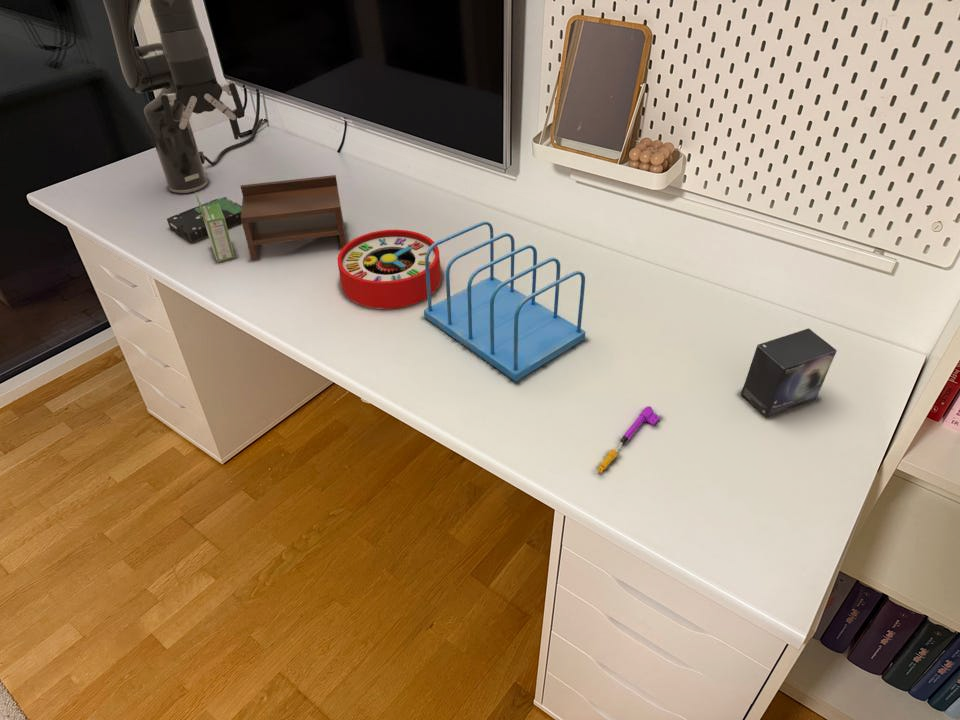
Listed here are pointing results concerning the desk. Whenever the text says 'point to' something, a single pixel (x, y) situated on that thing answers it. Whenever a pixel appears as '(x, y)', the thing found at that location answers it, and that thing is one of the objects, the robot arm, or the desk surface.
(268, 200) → the desk shelf
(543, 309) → the file sorter
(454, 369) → the desk surface
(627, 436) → the purple orange tool
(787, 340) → the small box
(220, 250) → the ink box
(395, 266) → the toy clock
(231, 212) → the disk drive
